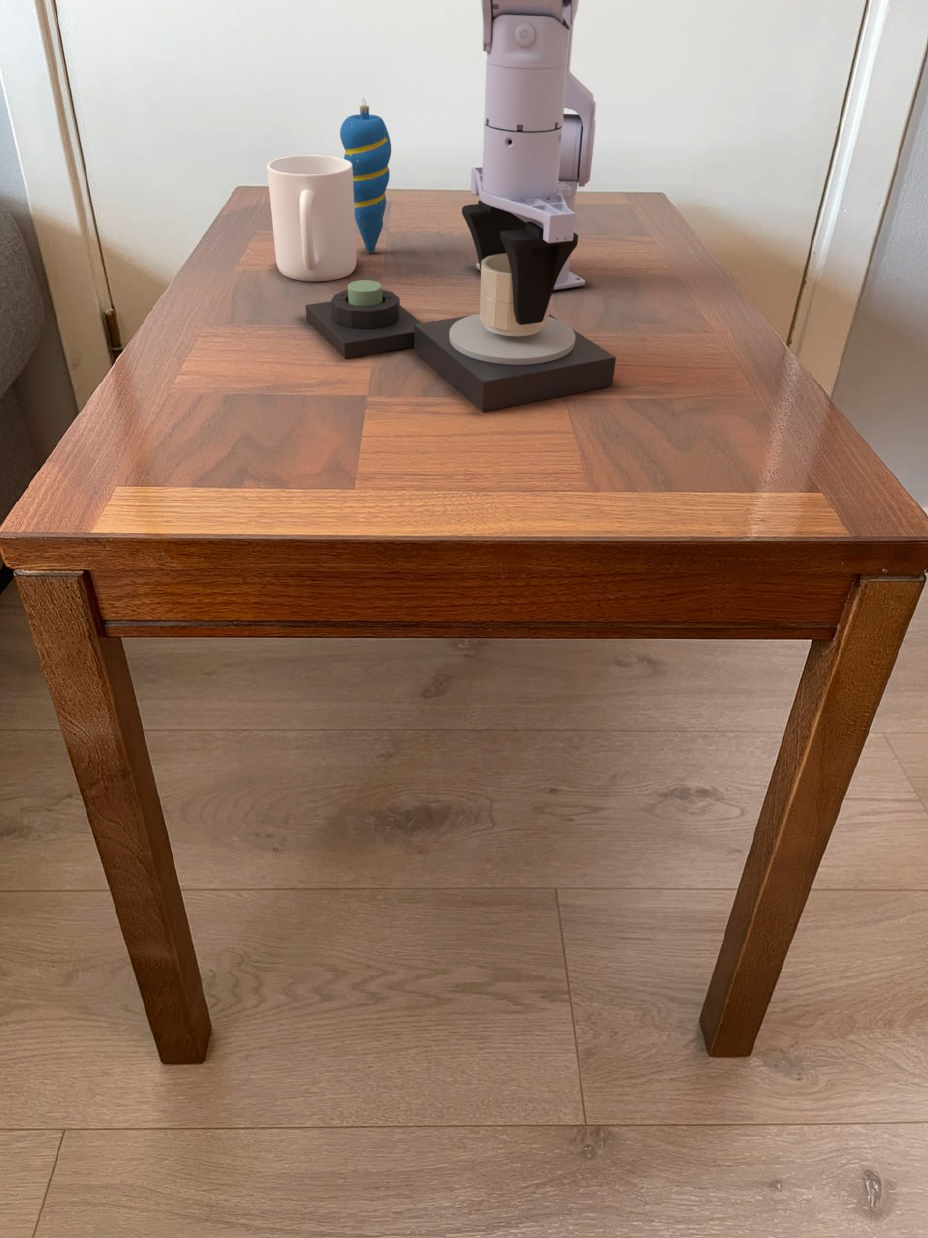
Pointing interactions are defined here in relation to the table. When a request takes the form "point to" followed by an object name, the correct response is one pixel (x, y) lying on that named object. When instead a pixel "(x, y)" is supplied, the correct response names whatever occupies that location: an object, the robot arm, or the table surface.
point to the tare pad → (363, 325)
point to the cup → (313, 216)
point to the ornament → (368, 170)
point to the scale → (512, 361)
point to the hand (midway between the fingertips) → (513, 309)
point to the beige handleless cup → (501, 299)
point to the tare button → (365, 293)
